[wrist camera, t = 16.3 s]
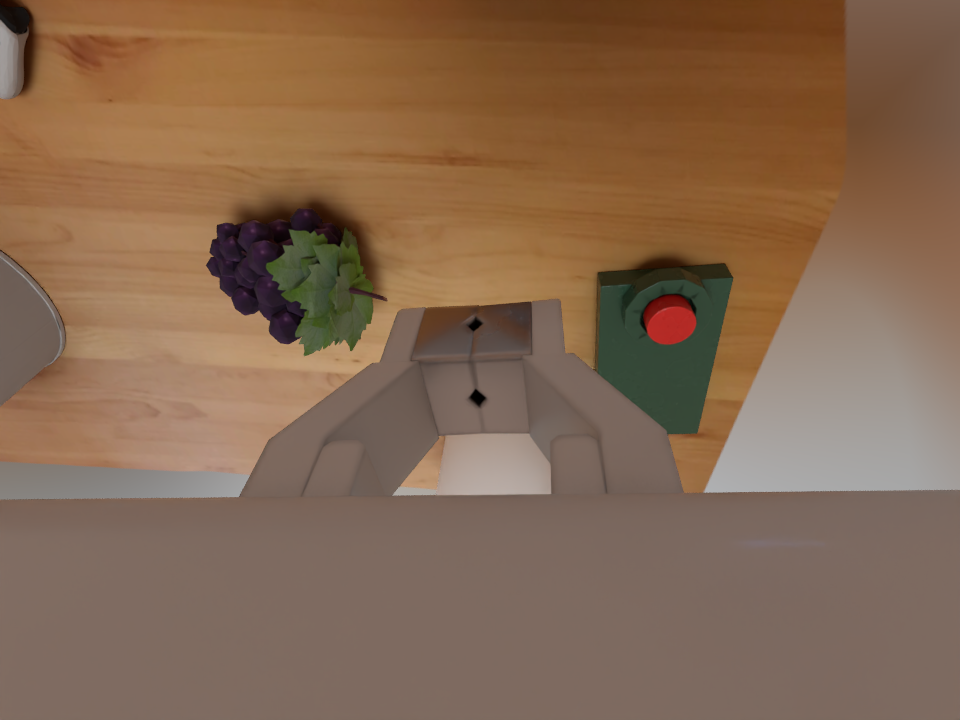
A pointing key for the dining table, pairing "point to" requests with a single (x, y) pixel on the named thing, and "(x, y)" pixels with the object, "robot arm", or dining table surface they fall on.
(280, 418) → the dining table surface
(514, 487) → the white cylinder
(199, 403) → the dining table surface
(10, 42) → the game controller
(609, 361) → the button housing
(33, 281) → the container
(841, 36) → the dining table surface
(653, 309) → the button
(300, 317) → the fruit
